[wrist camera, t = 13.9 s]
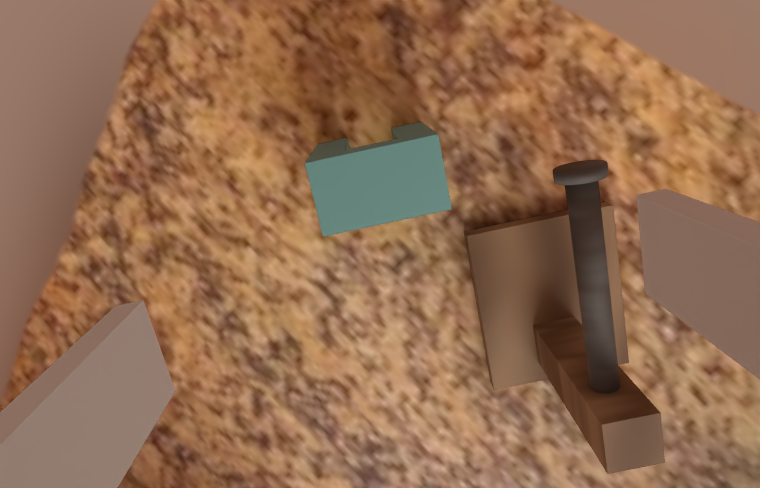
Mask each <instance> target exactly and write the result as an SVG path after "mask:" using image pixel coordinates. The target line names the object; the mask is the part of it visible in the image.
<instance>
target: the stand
mask: <svg viewBox="0 0 760 488" xmlns="http://www.w3.org/2000/svg"><path fill="white" fill-rule="evenodd" d="M608 175H609V174H608V165H607V162H606V161H603V160H586V161H578V162H572V163H568V164H564V165H561V166H558V167H556V168H554V169H553V177H554V183H555V184H558V185H565V190H566V198H567V206H568V210H564V211H559V212H554V213H550V214H545V215H540V216H535V217H531V218H526V219H521V220H517V221H512V222H507V223H502V224H498V225H493V226H488V227H484V228H479V229H474V230H469V231H465V232H464V234H465V240H466V246H467V251H468V257H469V263H470V268H471V274H472V280H473V285H474V291H475V296H476V302H477V308H478V313H479V319H480V325H481V330H482V336H483V342H484V347H485V353H486V358H487V364H488V370H489V375H490V381H491V384H492V386H493V389H494V390H497V389H502V388H507V387H512V386H516V385H521V384H526V383H531V382H536V381H541V380H546V379H549V380H550V382H551V384H552V385H553V387H554V388H555V390H556V392H557V393H558V395H559V396H560V398H561V400H562V401H563V403H564V404H565V406H566V408H567V409H568V411H569V412H570V414H571V416H572V417H573V419H574V420H575V422H576V424H577V425H578V427H579V428H580V430H581V432H582V433H583V435H584V437H585V438H586V440H587V441H588V443H589V445H590V446H591V448H592V449H593V451H594V453H595V454H596V456H597V457H598V459H599V461H600V462H601V464H602V465H603V467H604V469H605V470H606V472H607V473H608V474H609V473H614V472H619V471H624V470H630V469H635V468H640V467H645V466H650V465H655V464H660V463H665V459H664V447H663V436H662V424H661V413H660V412H659V411H658V410H657V408H656V407H655V406H654V405H653V404H652V403H651V402H650V401H649V399H648V398H647V397H646V396H645V395H644V394H643V393H642V392H641V391H640V389H639V388H638V387H637V386H636V385H635V384H634V383H633V382H632V380H631V379H630V378H629V377H628V376H627V375H626V374H625V373H624V372H623V370H622V369H621V368H620V367H619V366H618V365H620V364H624V363H629V359H628V349H627V339H626V329H625V319H624V309H623V299H622V289H621V279H620V270H619V260H618V250H617V240H616V230H615V220H614V210H613V205H612V204H610V203H608V202H601V201H600V192H599V183H598V181H599V180H601V179H604V178H606V177H607V176H608Z"/></svg>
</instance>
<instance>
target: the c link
mask: <svg viewBox="0 0 760 488" xmlns="http://www.w3.org/2000/svg"><path fill="white" fill-rule="evenodd" d="M391 129H392V134H393V139H394V140H389V141H385V142H380V143H376V144H371V145H366V146H362V147H357V148H353V149H349V144H348V140H347V138H344V139H339V140H335V141H330V142H325V143H321V144H317V146H316V147H315V149H314V150H313V152H312V153H311V155H310V156H309V158H308V159H307V161H306V162H305V166H306V170H307V174H308V178H309V182H310V186H311V190H312V194H313V198H314V202H315V206H316V210H317V214H318V218H319V222H320V226H321V230H322V234H323V237H324V236H328V235H333V234H338V233H342V232H347V231H352V230H356V229H361V228H366V227H370V226H375V225H380V224H384V223H389V222H394V221H399V220H403V219H408V218H413V217H417V216H422V215H427V214H431V213H436V212H441V211H445V210H450V209H452V207H451V202H450V196H449V191H448V185H447V180H446V174H445V169H444V163H443V158H442V152H441V146H440V141H439V135H438V134H437V133H436V132H434V131H433V130H432V129H430V128H429V127H428V126H426V125H425V124H423V123H422V122H417V123H413V124H408V125H403V126H399V127H394V128H391Z"/></svg>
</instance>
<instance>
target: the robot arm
mask: <svg viewBox="0 0 760 488" xmlns="http://www.w3.org/2000/svg"><path fill="white" fill-rule="evenodd" d="M636 196H637V207H638V218H639V230H640V241H641V252H642V263H643V274H644V285H645V293H646V294H647V295H648V296H650V297H651V298H652V299H654V300H655V301H656V302H658V303H659V304H660V305H662V306H663V307H664V308H666V309H667V310H668V311H669V312H671V313H672V314H673V315H675V316H676V317H677V318H679V319H680V320H681V321H683V322H684V323H685V324H687V325H688V326H689V327H691V328H692V329H693V330H695V331H696V332H697V333H699V334H700V335H701V336H703V337H704V338H705V339H707V340H708V341H709V342H711V343H712V344H713V345H715V346H716V347H717V348H719V349H720V350H721V351H723V352H724V353H725V354H727V355H728V356H729V357H731V358H732V359H733V360H735V361H736V362H737V363H739V364H740V365H741V366H743V367H744V368H745V369H747V370H748V371H749V372H751V373H752V374H753V375H755V376H756V377H757V378H759V379H760V222H757V221H754V220H752V219H749V218H746V217H743V216H740V215H738V214H735V213H732V212H729V211H726V210H724V209H721V208H718V207H715V206H713V205H710V204H707V203H704V202H701V201H699V200H696V199H693V198H690V197H687V196H685V195H682V194H679V193H676V192H673V191H671V190H668V189H663V190H658V191H653V192H649V193H644V194H639V195H636ZM174 392H175V389H174V386H173V383H172V380H171V377H170V375H169V372H168V369H167V366H166V363H165V360H164V358H163V355H162V352H161V349H160V346H159V343H158V340H157V338H156V335H155V332H154V329H153V326H152V323H151V321H150V318H149V315H148V312H147V309H146V306H145V303H144V301H143V300H142V301H137V302H133V303H128V304H123V305H118V306H115V307H114V308H113V309H112V310H111V311H110V312H108V313H107V314H106V315H105V316H104V317H103V318H102V319H101V320H100V321H99V322H98V323H96V324H95V325H94V326H93V327H92V328H91V329H90V330H89V331H88V332H87V333H86V334H85V335H83V336H82V337H81V338H80V339H79V340H78V341H77V342H76V343H75V344H74V345H73V346H71V347H70V348H69V349H68V350H67V351H66V352H65V353H64V354H63V355H62V356H61V357H60V358H58V359H57V360H56V361H55V362H54V363H53V364H52V365H51V366H50V367H49V368H48V369H46V370H45V371H44V372H43V373H42V374H41V375H40V376H39V377H38V378H37V379H36V380H35V381H33V382H32V383H31V384H30V385H29V386H28V387H27V388H26V389H25V390H24V391H23V392H21V393H20V394H19V395H18V396H17V397H16V398H15V399H14V400H13V401H12V402H11V403H10V404H8V405H7V406H6V407H5V408H4V409H3V410H2V411H1V412H0V488H118V486H119V484H120V483H121V481H122V479H123V478H124V476H125V474H126V473H127V471H128V469H129V468H130V466H131V464H132V463H133V461H134V459H135V458H136V456H137V454H138V453H139V451H140V449H141V448H142V446H143V444H144V443H145V441H146V439H147V438H148V436H149V434H150V433H151V431H152V429H153V428H154V426H155V424H156V423H157V421H158V419H159V418H160V416H161V414H162V413H163V411H164V409H165V408H166V406H167V404H168V402H169V401H170V399H171V397H172V396H173V394H174Z"/></svg>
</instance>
